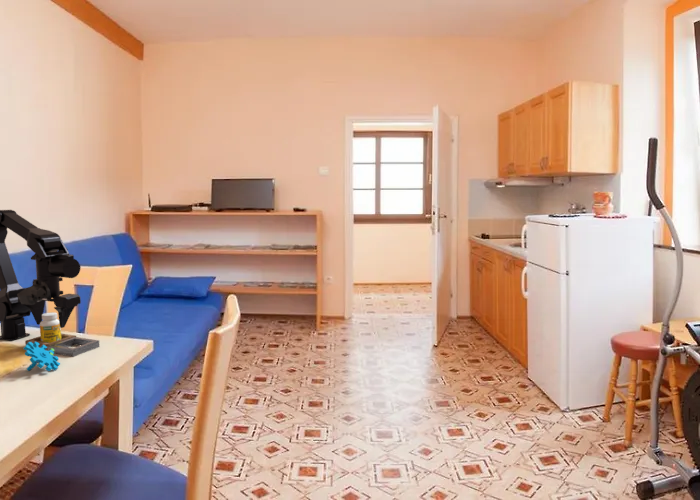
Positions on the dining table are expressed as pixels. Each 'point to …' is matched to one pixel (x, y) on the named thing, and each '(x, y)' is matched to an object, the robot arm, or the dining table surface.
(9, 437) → the dining table surface
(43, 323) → the supplement bottle
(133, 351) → the dining table surface
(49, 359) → the gear
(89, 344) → the socket
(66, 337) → the brown square frame
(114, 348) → the dining table surface
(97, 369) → the dining table surface
